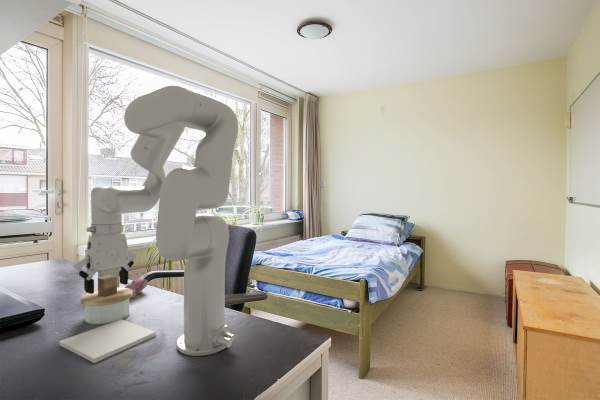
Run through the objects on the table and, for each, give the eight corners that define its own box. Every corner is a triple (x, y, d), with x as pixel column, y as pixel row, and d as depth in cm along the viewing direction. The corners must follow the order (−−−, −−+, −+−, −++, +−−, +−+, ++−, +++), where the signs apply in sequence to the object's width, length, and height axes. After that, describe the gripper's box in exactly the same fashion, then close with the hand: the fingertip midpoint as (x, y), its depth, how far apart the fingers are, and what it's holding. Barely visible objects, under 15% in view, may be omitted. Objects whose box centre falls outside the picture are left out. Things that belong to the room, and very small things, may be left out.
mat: (156, 335, 82) (156, 331, 82) (94, 363, 69) (94, 358, 69) (121, 322, 89) (121, 319, 89) (59, 345, 76) (59, 341, 76)
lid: (142, 295, 96) (142, 275, 96) (96, 309, 84) (96, 286, 84) (116, 288, 102) (116, 269, 102) (71, 300, 91) (70, 279, 91)
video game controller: (125, 305, 107) (133, 287, 106) (114, 298, 107) (122, 280, 107) (145, 295, 116) (152, 279, 115) (135, 289, 117) (142, 272, 116)
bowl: (137, 313, 96) (136, 295, 95) (98, 327, 86) (98, 307, 86) (115, 306, 101) (115, 289, 101) (77, 318, 91) (76, 299, 91)
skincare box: (119, 294, 113) (119, 259, 112) (106, 297, 109) (106, 262, 108) (110, 290, 116) (110, 257, 116) (97, 294, 112) (97, 259, 112)
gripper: (81, 234, 83) (82, 299, 84) (142, 227, 98) (142, 282, 99) (66, 231, 87) (67, 294, 88) (127, 225, 102) (128, 279, 103)
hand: (107, 288), depth 93 cm, fingers open, 9 cm apart
